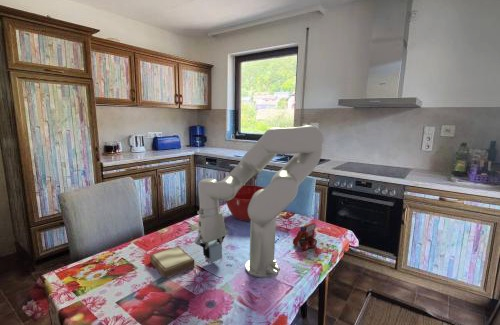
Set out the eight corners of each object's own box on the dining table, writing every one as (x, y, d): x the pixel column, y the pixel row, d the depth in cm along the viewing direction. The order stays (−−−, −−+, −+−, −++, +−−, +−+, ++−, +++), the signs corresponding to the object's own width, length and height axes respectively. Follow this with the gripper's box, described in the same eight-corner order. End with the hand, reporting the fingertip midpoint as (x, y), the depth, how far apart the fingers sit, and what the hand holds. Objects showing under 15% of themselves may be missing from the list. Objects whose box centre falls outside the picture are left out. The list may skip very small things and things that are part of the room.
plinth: (194, 266, 103) (194, 259, 102) (164, 278, 95) (164, 270, 94) (178, 252, 113) (178, 245, 112) (150, 261, 105) (150, 254, 105)
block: (222, 258, 104) (221, 244, 104) (211, 262, 101) (210, 248, 100) (215, 253, 108) (214, 240, 107) (204, 258, 105) (203, 244, 104)
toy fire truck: (289, 247, 120) (290, 225, 118) (307, 239, 128) (308, 219, 126) (301, 253, 115) (302, 231, 113) (318, 245, 122) (320, 224, 121)
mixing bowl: (267, 228, 139) (268, 200, 136) (216, 223, 145) (216, 196, 142) (273, 210, 166) (274, 187, 164) (230, 206, 172) (230, 183, 169)
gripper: (195, 219, 93) (198, 266, 96) (233, 207, 104) (235, 250, 107) (185, 214, 99) (189, 258, 102) (222, 203, 110) (225, 243, 113)
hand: (213, 253), depth 105 cm, fingers closed on block, 4 cm apart
